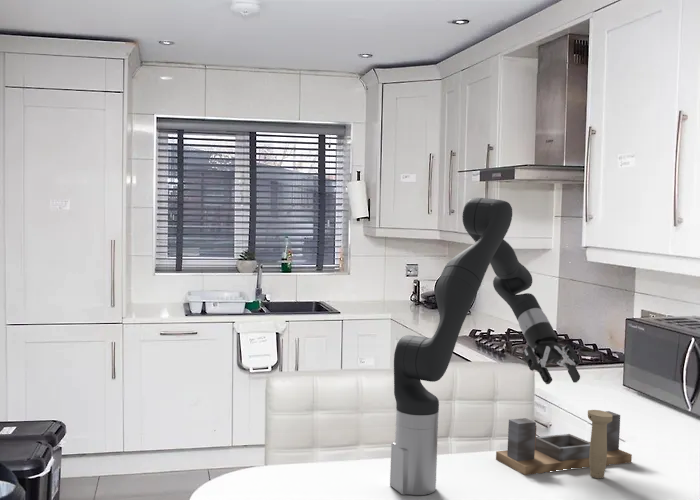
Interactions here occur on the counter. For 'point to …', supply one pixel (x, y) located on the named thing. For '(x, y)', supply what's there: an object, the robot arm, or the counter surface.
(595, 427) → the handle
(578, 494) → the counter surface
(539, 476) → the counter surface
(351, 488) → the counter surface
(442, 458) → the counter surface
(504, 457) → the brown and grey holder
